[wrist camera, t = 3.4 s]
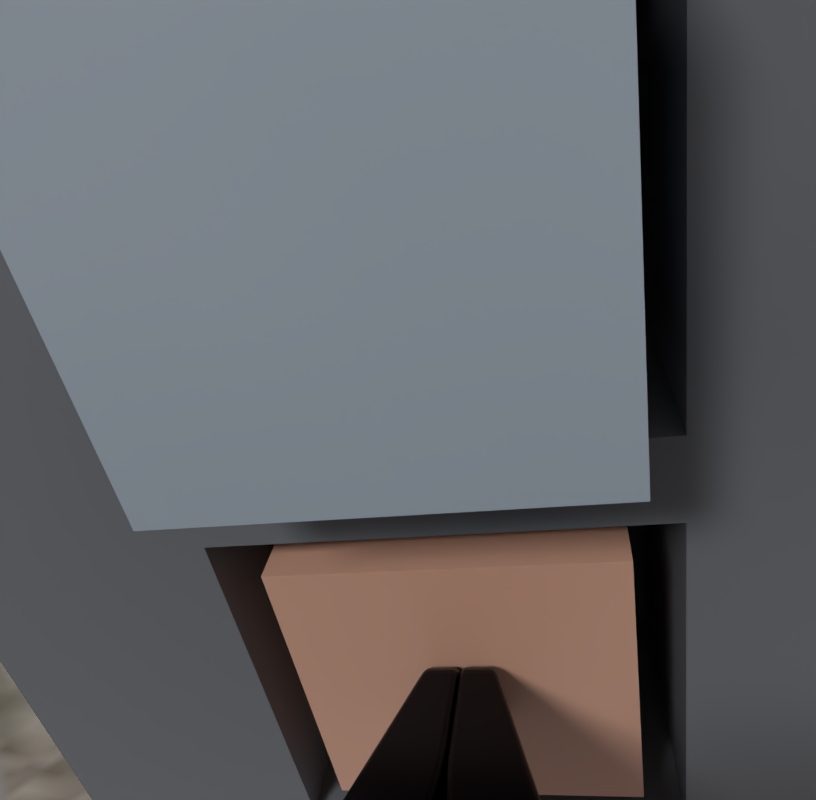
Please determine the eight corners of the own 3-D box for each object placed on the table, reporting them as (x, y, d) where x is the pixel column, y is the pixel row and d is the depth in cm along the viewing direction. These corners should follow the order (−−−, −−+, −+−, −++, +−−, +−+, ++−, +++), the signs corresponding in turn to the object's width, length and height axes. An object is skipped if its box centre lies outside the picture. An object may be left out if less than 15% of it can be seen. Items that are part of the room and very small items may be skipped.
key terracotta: (609, 425, 10) (632, 561, 7) (622, 641, 12) (644, 796, 9) (315, 449, 10) (260, 576, 8) (373, 645, 12) (341, 790, 10)
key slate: (588, -158, 5) (631, -231, 3) (614, 340, 7) (650, 500, 5) (93, -40, 6) (-134, -33, 4) (236, 379, 8) (133, 530, 6)
